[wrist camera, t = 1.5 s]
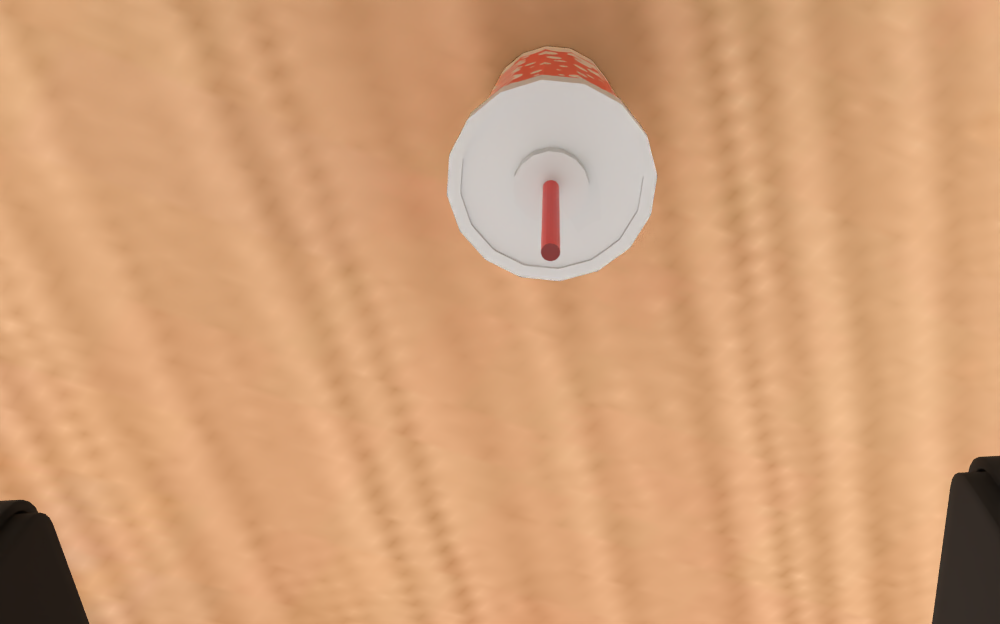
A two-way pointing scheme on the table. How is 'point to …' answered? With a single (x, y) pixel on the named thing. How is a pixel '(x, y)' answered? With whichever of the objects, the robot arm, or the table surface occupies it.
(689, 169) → the table surface
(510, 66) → the beverage cup
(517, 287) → the table surface
